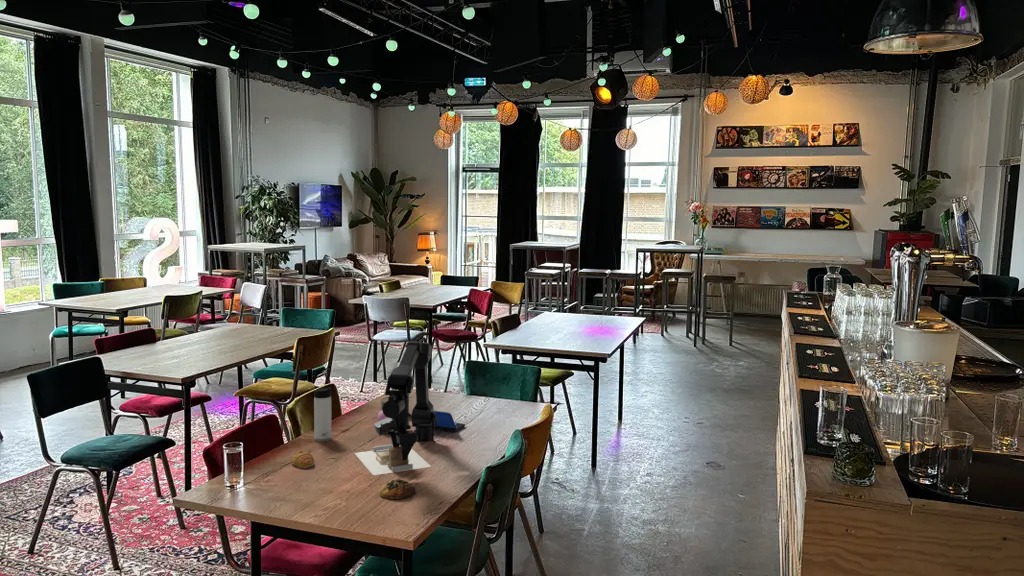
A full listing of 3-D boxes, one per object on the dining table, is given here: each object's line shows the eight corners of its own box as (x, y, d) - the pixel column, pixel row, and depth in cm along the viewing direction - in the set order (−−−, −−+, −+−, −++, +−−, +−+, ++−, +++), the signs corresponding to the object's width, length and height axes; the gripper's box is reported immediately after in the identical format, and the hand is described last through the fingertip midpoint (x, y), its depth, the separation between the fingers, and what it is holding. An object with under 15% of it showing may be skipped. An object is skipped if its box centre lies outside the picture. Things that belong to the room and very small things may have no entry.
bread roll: (418, 498, 212) (416, 482, 212) (381, 506, 209) (379, 490, 209) (413, 486, 223) (411, 470, 222) (378, 493, 220) (376, 478, 219)
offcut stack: (403, 455, 247) (403, 448, 247) (408, 459, 243) (408, 453, 243) (375, 459, 243) (375, 452, 242) (379, 463, 238) (379, 457, 238)
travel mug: (327, 442, 263) (327, 390, 261) (311, 441, 264) (311, 389, 262) (335, 437, 269) (334, 386, 267) (319, 436, 270) (318, 385, 268)
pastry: (319, 466, 238) (319, 455, 237) (299, 471, 234) (299, 459, 233) (308, 459, 245) (308, 448, 245) (289, 463, 241) (289, 452, 241)
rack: (408, 448, 258) (408, 441, 258) (431, 469, 237) (431, 462, 236) (354, 455, 249) (354, 448, 249) (373, 478, 228) (373, 470, 227)
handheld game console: (466, 427, 287) (466, 405, 286) (450, 436, 274) (451, 413, 274) (432, 422, 293) (433, 400, 292) (416, 431, 281) (416, 408, 280)
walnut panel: (406, 465, 237) (406, 445, 236) (408, 467, 235) (408, 447, 234) (389, 468, 234) (389, 447, 233) (390, 470, 232) (390, 449, 232)
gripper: (368, 405, 237) (368, 450, 239) (384, 419, 221) (384, 468, 222) (400, 402, 242) (400, 446, 244) (418, 416, 226) (418, 463, 227)
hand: (400, 455), depth 234 cm, fingers open, 9 cm apart
